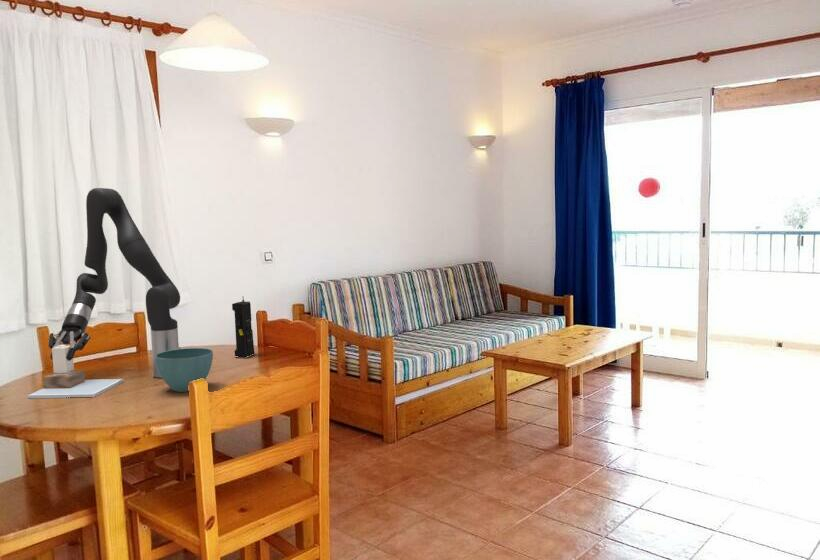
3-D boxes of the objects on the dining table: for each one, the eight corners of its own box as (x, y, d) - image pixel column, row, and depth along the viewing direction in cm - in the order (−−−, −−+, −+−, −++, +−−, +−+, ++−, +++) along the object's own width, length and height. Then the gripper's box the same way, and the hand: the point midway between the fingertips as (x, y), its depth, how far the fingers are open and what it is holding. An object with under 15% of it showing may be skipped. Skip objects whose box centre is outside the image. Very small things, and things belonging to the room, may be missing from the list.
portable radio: (247, 359, 260) (244, 298, 257) (233, 358, 261) (230, 298, 258) (255, 354, 267) (252, 295, 265) (242, 354, 268) (239, 295, 266)
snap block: (74, 369, 222) (72, 343, 221) (66, 372, 217) (64, 346, 216) (61, 369, 222) (59, 344, 221) (53, 372, 217) (51, 346, 216)
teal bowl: (184, 380, 226) (182, 346, 225) (226, 384, 219) (224, 349, 218) (145, 393, 210) (142, 356, 208) (189, 398, 203) (186, 360, 201)
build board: (123, 381, 226) (122, 367, 226) (93, 397, 206) (92, 382, 206) (62, 382, 227) (61, 368, 227) (27, 398, 207) (26, 383, 207)
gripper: (52, 313, 226) (34, 353, 215) (92, 312, 225) (76, 353, 214) (62, 325, 232) (45, 365, 221) (101, 324, 231) (85, 365, 220)
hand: (60, 359), depth 218 cm, fingers open, 4 cm apart
